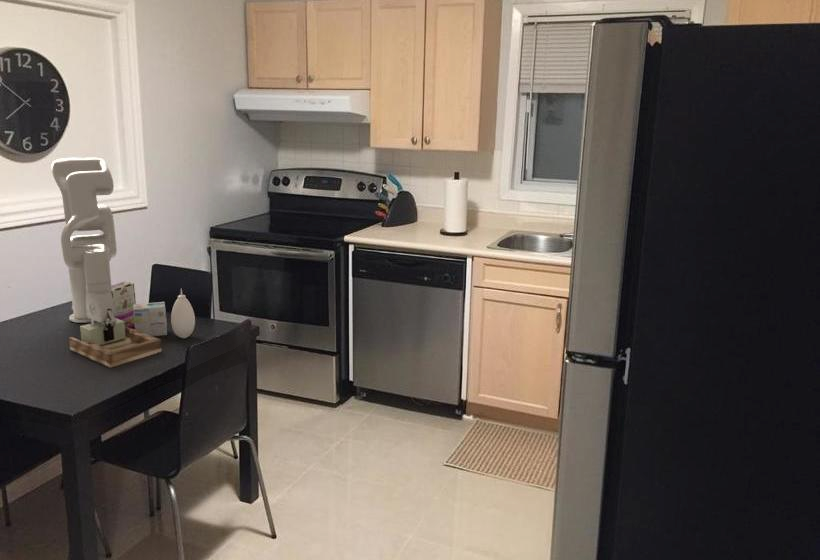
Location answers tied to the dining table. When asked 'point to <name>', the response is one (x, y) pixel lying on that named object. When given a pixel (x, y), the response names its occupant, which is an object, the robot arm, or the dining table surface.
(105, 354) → the wooden tray
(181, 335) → the white air blower bulb
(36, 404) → the dining table surface
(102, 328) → the cream rectangular block
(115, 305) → the candy bar box
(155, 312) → the light bulb box
